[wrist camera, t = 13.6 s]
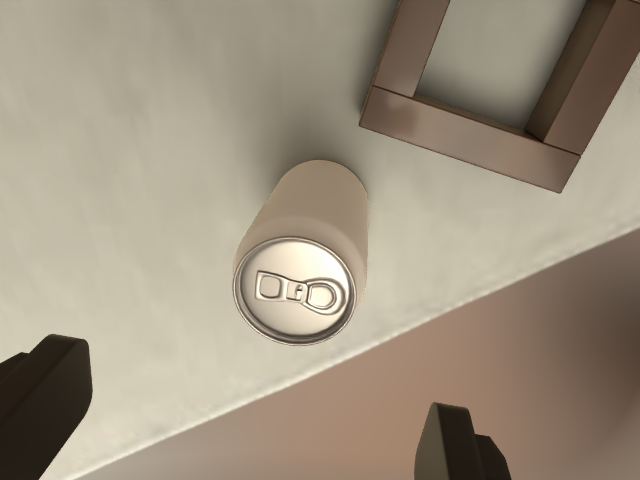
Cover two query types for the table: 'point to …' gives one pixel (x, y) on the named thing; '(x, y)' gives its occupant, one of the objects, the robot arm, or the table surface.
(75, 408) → the robot arm
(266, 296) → the can
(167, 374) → the table surface
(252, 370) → the table surface
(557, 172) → the can stand
